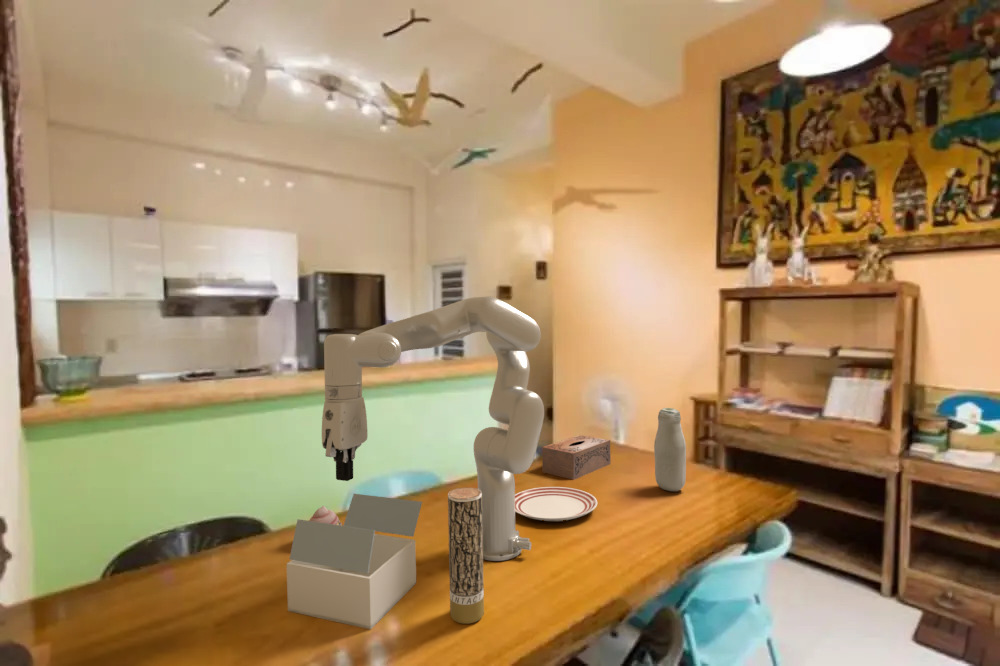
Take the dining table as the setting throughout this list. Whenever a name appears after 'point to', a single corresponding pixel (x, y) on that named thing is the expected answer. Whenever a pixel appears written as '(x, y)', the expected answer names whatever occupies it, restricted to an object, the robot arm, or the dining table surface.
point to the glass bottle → (670, 451)
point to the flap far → (383, 514)
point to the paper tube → (466, 555)
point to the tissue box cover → (575, 456)
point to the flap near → (332, 545)
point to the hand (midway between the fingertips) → (344, 479)
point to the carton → (354, 585)
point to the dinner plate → (554, 503)
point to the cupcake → (325, 516)
